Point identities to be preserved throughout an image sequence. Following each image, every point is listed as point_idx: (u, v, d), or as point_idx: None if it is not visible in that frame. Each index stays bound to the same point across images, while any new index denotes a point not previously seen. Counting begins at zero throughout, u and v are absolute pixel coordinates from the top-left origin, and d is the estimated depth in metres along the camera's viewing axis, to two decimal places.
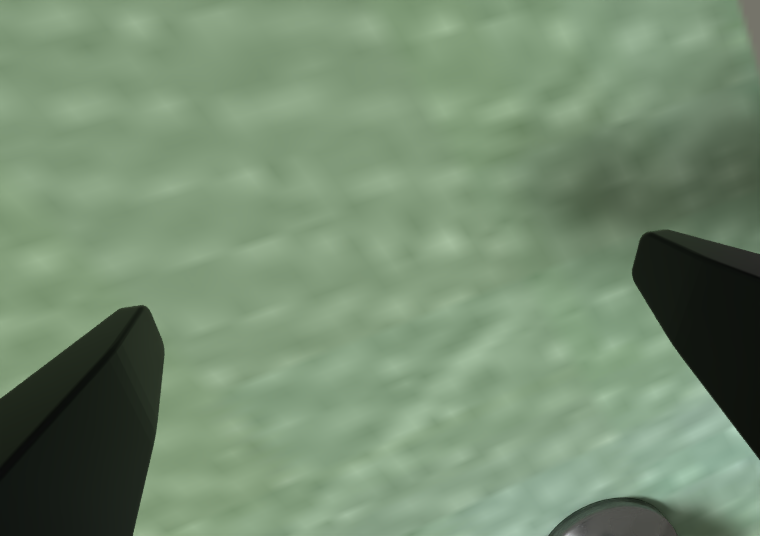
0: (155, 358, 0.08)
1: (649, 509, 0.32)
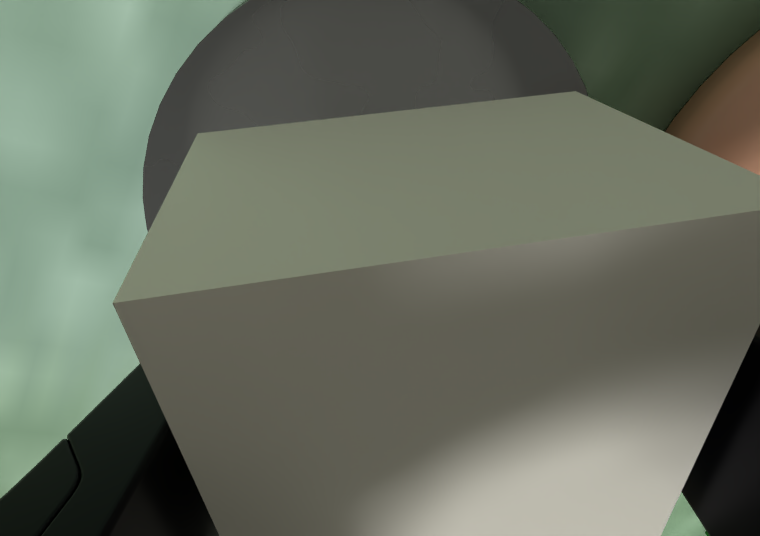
0: None
1: None
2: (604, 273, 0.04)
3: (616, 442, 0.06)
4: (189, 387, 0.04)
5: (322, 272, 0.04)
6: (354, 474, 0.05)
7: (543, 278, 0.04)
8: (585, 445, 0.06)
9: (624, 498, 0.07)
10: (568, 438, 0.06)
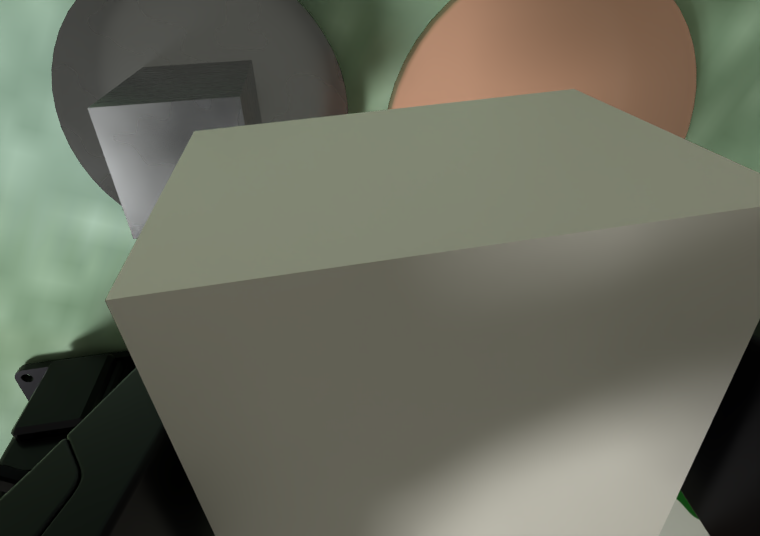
0: None
1: None
2: (601, 270, 0.04)
3: (614, 441, 0.06)
4: (183, 385, 0.04)
5: (316, 269, 0.04)
6: (350, 473, 0.05)
7: (539, 275, 0.04)
8: (583, 444, 0.06)
9: (622, 497, 0.07)
10: (565, 437, 0.06)
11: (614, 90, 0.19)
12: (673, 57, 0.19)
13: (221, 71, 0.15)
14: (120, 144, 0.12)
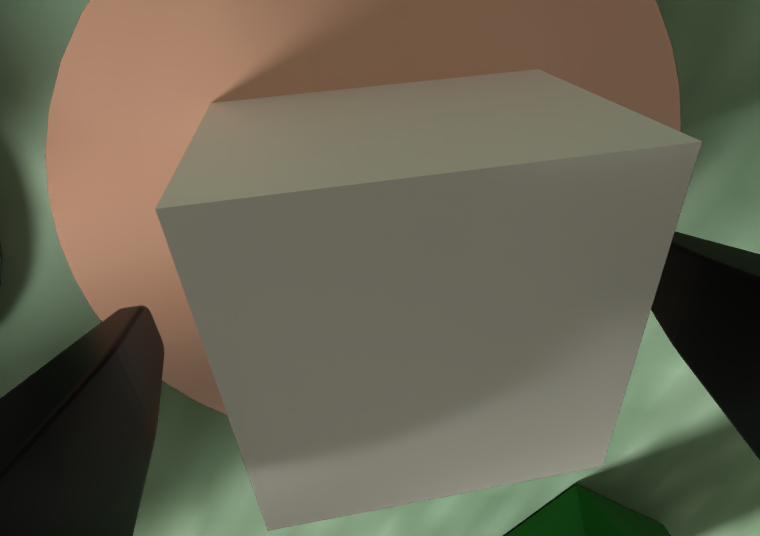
0: (155, 358, 0.08)
1: None
2: (536, 197, 0.06)
3: (559, 354, 0.07)
4: (210, 284, 0.05)
5: (314, 190, 0.05)
6: (341, 372, 0.07)
7: (487, 200, 0.05)
8: (533, 355, 0.07)
9: (571, 410, 0.08)
10: (518, 347, 0.07)
11: None
12: (629, 68, 0.09)
13: None
14: None
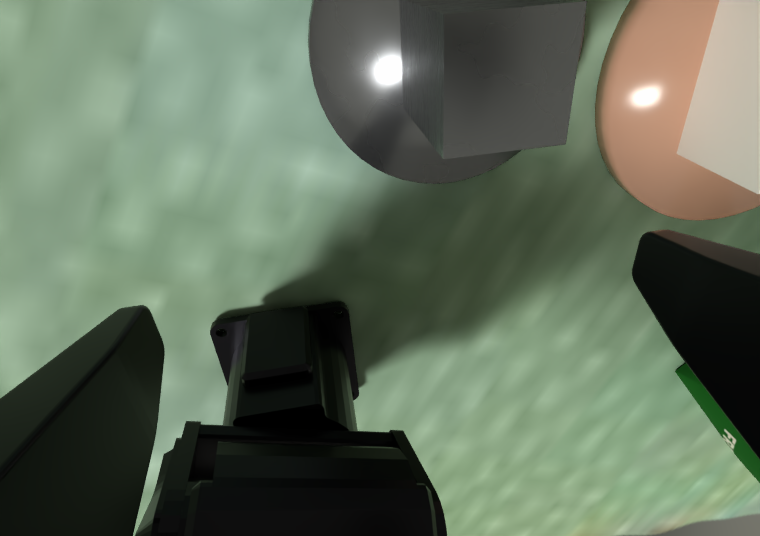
0: (155, 358, 0.08)
1: None
2: None
3: None
4: None
5: None
6: None
7: None
8: None
9: None
10: None
11: None
12: None
13: None
14: (462, 54, 0.12)
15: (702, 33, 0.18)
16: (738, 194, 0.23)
